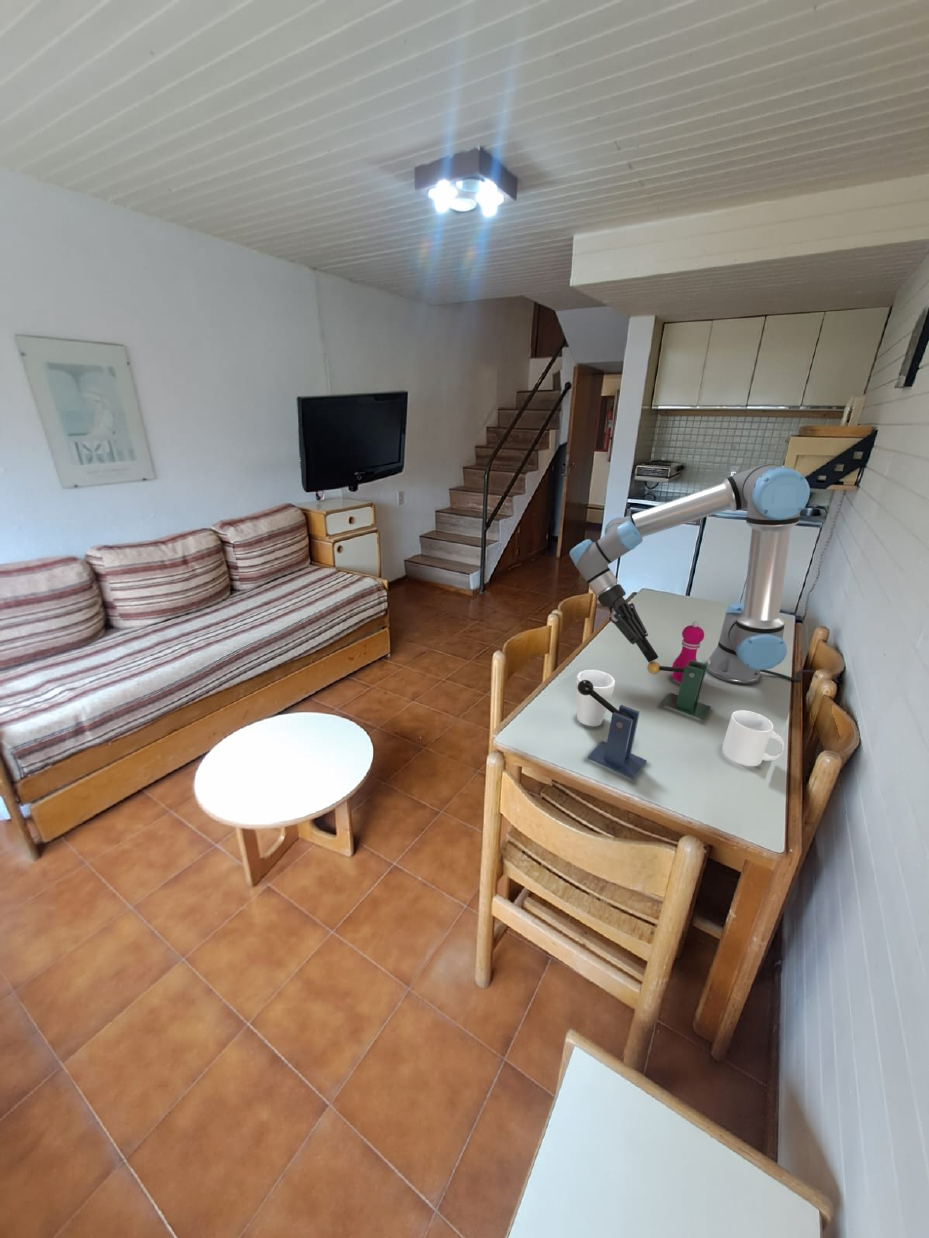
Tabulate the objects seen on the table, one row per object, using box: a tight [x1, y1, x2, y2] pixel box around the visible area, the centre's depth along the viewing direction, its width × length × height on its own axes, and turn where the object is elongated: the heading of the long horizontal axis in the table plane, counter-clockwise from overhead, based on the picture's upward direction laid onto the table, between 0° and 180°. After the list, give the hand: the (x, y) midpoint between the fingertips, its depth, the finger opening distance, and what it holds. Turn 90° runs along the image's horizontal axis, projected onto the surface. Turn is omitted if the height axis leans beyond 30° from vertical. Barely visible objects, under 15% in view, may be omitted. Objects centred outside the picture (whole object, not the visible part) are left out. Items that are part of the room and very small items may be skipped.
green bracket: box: [661, 660, 712, 720], centre depth 134 cm, size 11×8×14 cm
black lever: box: [578, 680, 634, 720], centre depth 112 cm, size 14×4×4 cm, turn 51°
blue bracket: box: [587, 704, 647, 780], centre depth 112 cm, size 11×8×14 cm
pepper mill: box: [671, 620, 705, 683], centre depth 148 cm, size 7×7×20 cm
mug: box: [721, 709, 786, 767], centre depth 115 cm, size 9×12×11 cm
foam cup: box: [575, 669, 616, 727], centre depth 127 cm, size 10×9×13 cm
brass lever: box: [646, 660, 702, 675], centre depth 136 cm, size 14×4×4 cm, turn 51°
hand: (653, 659), depth 139 cm, fingers closed
